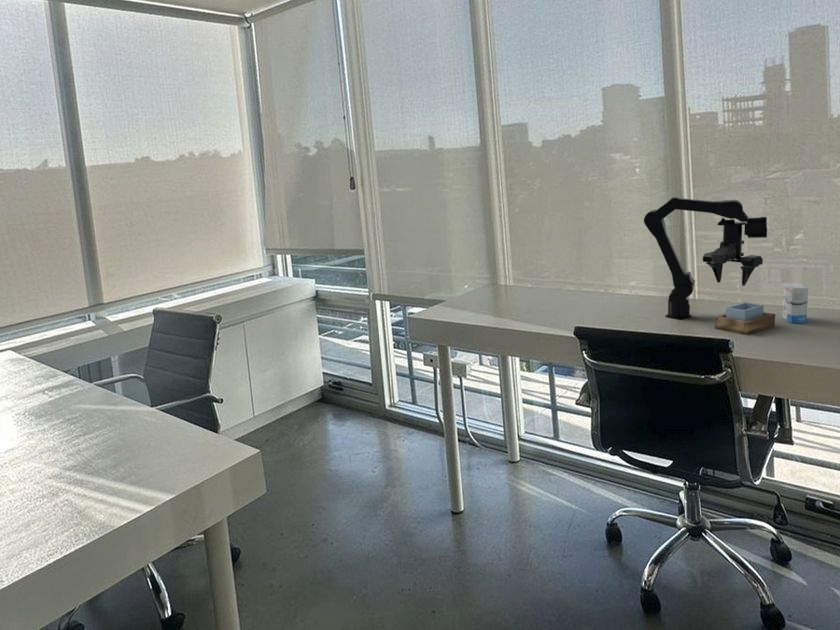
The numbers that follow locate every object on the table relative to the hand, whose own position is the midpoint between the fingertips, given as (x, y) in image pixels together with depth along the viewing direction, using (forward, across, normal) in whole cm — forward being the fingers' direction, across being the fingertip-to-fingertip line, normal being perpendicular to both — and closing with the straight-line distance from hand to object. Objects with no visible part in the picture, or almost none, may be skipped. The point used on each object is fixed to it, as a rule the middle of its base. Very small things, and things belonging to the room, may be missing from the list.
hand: (731, 284), depth 229 cm
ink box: (+12, +16, +11) cm, 23 cm away
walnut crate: (+12, +10, -7) cm, 17 cm away
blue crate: (+11, +10, -7) cm, 16 cm away
